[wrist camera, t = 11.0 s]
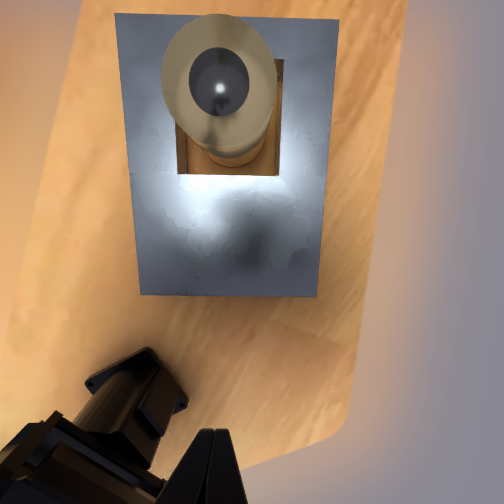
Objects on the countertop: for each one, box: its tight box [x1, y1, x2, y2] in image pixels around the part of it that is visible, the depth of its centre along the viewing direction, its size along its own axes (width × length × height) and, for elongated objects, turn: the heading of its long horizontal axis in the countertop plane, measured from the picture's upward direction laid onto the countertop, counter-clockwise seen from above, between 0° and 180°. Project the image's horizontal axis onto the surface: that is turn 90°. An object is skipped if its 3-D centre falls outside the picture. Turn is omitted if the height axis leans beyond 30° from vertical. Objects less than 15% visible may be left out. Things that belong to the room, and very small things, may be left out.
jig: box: [114, 13, 339, 297], centre depth 16 cm, size 16×12×2 cm
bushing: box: [161, 14, 277, 167], centre depth 13 cm, size 5×5×7 cm
